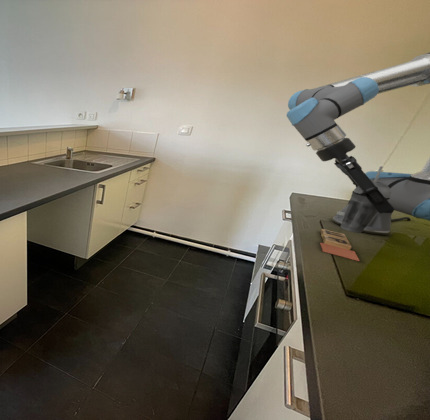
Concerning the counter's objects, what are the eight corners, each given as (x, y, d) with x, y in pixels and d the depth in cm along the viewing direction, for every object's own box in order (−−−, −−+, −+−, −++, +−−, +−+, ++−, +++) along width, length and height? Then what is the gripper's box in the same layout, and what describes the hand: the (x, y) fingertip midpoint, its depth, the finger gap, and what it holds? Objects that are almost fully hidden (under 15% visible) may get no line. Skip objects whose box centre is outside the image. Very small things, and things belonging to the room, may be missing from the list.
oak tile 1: (319, 232, 94) (321, 228, 93) (342, 237, 90) (344, 233, 89) (321, 237, 89) (323, 233, 89) (345, 243, 86) (348, 239, 85)
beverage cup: (375, 236, 73) (416, 170, 65) (347, 233, 74) (384, 168, 66) (353, 226, 79) (388, 165, 72) (327, 223, 81) (359, 163, 73)
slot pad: (320, 243, 85) (320, 242, 85) (354, 251, 80) (354, 251, 80) (322, 251, 79) (323, 251, 79) (359, 261, 75) (359, 261, 74)
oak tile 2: (322, 238, 89) (324, 234, 88) (346, 244, 85) (348, 240, 84) (324, 244, 84) (326, 239, 84) (349, 250, 81) (352, 246, 80)
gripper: (311, 149, 85) (357, 205, 81) (318, 154, 71) (373, 222, 67) (341, 135, 80) (391, 194, 76) (354, 137, 65) (416, 210, 62)
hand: (382, 207), depth 71 cm, fingers closed on beverage cup, 7 cm apart
